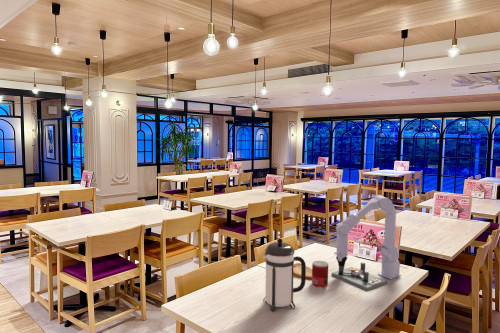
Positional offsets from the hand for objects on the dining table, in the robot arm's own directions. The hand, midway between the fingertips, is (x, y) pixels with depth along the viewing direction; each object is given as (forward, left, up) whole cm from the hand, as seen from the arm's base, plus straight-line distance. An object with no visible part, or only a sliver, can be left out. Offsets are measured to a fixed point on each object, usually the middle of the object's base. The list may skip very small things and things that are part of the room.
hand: (341, 269), depth 186 cm
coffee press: (+48, +8, -4) cm, 49 cm away
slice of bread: (+15, -14, -4) cm, 21 cm away
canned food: (+18, +2, -4) cm, 18 cm away
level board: (-4, +8, -3) cm, 10 cm away
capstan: (-3, +5, -1) cm, 6 cm away
